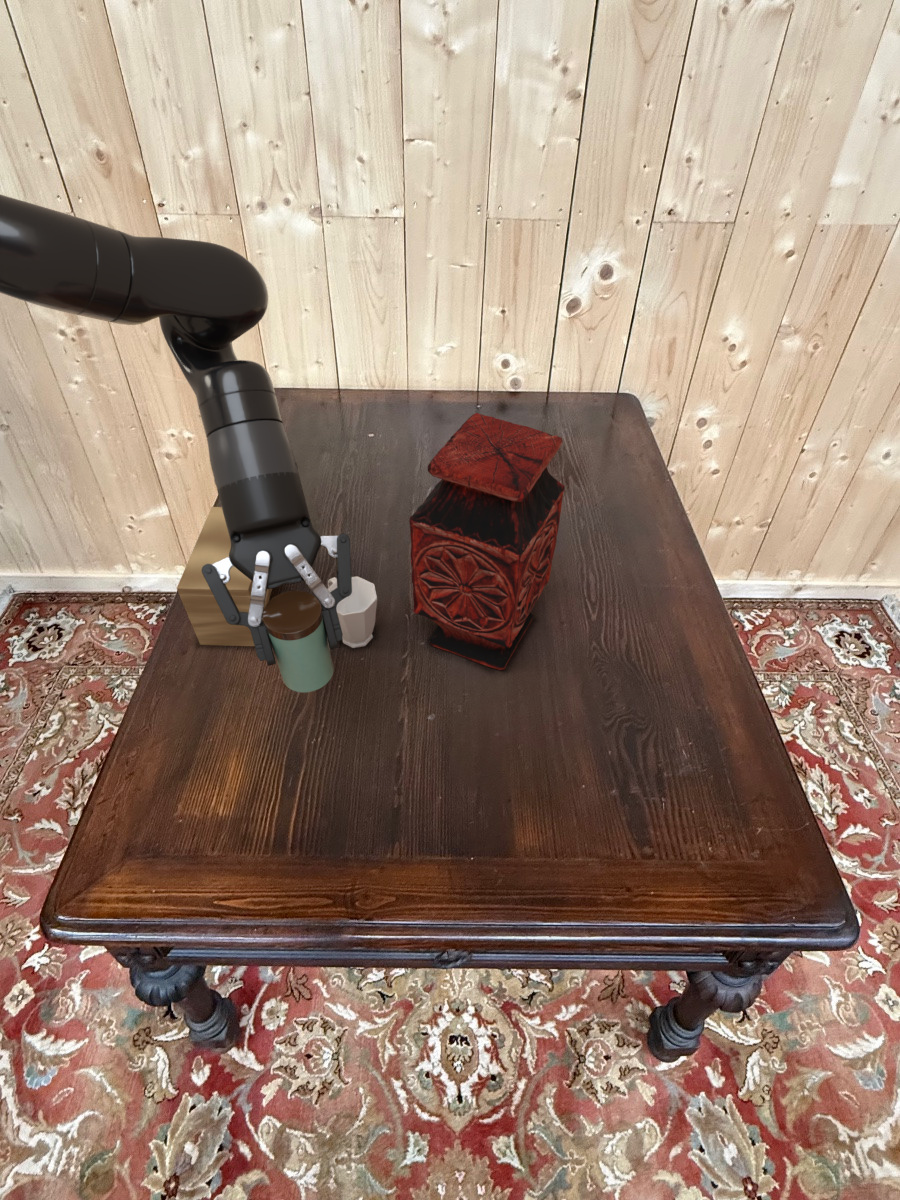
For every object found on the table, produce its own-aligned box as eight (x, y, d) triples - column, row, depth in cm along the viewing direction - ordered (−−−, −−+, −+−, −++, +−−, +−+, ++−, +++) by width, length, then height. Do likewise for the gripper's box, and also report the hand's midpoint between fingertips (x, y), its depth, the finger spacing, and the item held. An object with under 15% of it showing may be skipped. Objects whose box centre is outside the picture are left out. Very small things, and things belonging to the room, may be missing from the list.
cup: (347, 664, 91) (339, 623, 85) (312, 617, 97) (302, 577, 91) (392, 640, 94) (388, 599, 88) (356, 596, 99) (349, 555, 94)
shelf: (266, 646, 93) (248, 589, 85) (200, 645, 93) (176, 588, 85) (289, 564, 104) (275, 507, 96) (230, 563, 104) (211, 506, 96)
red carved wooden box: (508, 687, 88) (524, 501, 66) (414, 650, 93) (400, 464, 71) (547, 615, 97) (574, 429, 75) (460, 584, 101) (460, 400, 79)
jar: (315, 700, 67) (299, 641, 61) (270, 681, 69) (250, 621, 62) (344, 661, 70) (332, 601, 64) (300, 644, 72) (284, 583, 65)
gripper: (171, 489, 59) (222, 681, 60) (336, 456, 62) (382, 638, 63) (184, 501, 66) (229, 672, 67) (331, 471, 69) (372, 634, 70)
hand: (303, 655), depth 65 cm, fingers closed on jar, 5 cm apart
